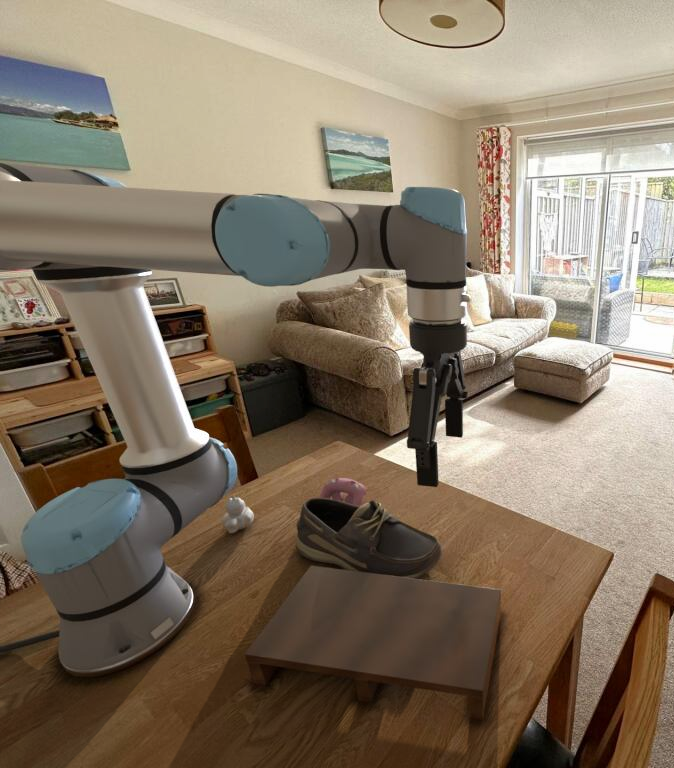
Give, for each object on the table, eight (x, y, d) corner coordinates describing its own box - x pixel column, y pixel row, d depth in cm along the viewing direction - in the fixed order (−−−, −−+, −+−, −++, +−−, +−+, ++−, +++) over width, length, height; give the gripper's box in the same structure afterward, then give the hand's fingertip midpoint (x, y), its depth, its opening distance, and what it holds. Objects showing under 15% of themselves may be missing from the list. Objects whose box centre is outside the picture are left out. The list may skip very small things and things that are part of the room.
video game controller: (365, 512, 90) (370, 481, 91) (353, 516, 86) (359, 483, 86) (327, 504, 92) (331, 474, 93) (313, 509, 88) (318, 476, 88)
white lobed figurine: (261, 516, 86) (253, 485, 83) (247, 538, 80) (238, 505, 77) (233, 518, 85) (224, 487, 82) (217, 541, 79) (207, 508, 76)
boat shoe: (428, 596, 69) (424, 547, 65) (278, 565, 74) (266, 519, 70) (449, 549, 79) (448, 505, 75) (316, 525, 84) (308, 482, 80)
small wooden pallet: (254, 683, 55) (244, 654, 53) (316, 591, 69) (310, 565, 67) (482, 720, 52) (482, 690, 50) (500, 616, 66) (501, 589, 64)
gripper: (437, 347, 41) (443, 515, 49) (484, 303, 64) (483, 422, 72) (366, 342, 42) (383, 508, 50) (438, 300, 65) (442, 418, 73)
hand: (442, 457), depth 61 cm, fingers open, 13 cm apart
